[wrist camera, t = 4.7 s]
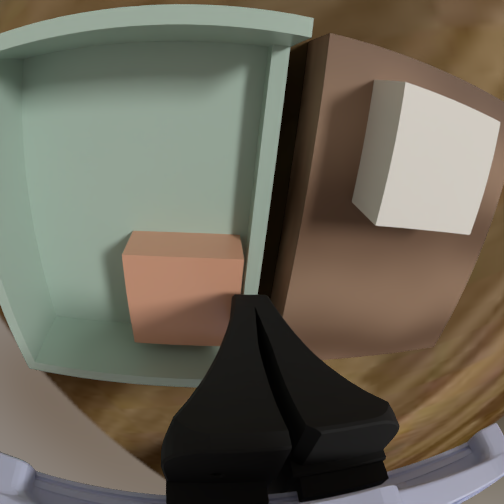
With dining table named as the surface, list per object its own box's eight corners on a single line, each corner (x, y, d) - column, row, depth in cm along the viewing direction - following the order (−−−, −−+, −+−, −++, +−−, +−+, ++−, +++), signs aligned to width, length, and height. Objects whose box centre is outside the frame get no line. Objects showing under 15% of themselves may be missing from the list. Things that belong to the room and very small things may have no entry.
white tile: (441, 213, 12) (470, 234, 10) (351, 202, 11) (375, 225, 9) (466, 111, 10) (500, 121, 8) (373, 79, 9) (405, 81, 7)
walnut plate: (416, 320, 18) (433, 346, 16) (265, 327, 17) (272, 362, 15) (485, 102, 12) (519, 111, 10) (308, 41, 10) (330, 33, 8)
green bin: (246, 327, 17) (255, 387, 13) (53, 316, 15) (29, 368, 12) (283, 37, 10) (313, 18, 7) (21, 48, 8) (-37, 47, 5)
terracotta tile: (232, 317, 16) (235, 346, 14) (141, 313, 15) (134, 342, 13) (239, 234, 13) (244, 259, 12) (133, 230, 13) (121, 255, 11)
